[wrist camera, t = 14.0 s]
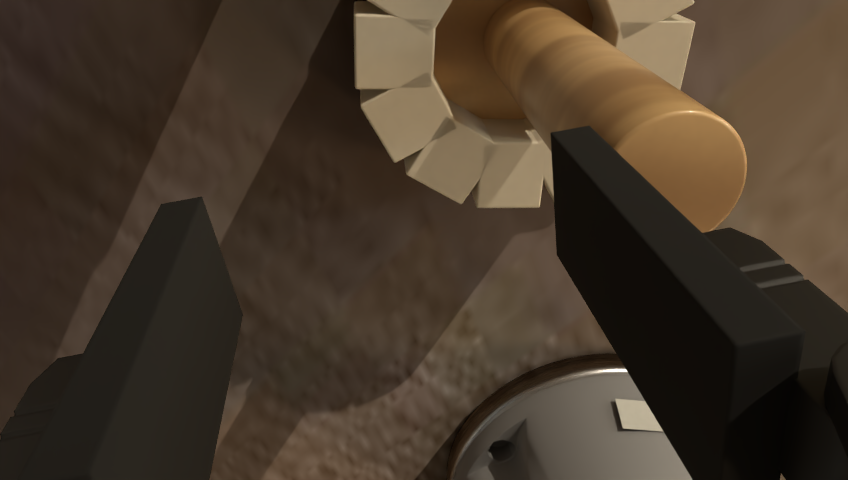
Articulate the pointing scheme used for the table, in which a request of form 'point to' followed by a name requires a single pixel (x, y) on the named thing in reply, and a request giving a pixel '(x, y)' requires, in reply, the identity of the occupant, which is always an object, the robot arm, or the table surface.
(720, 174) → the post stand
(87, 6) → the table surface
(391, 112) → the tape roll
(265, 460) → the table surface
